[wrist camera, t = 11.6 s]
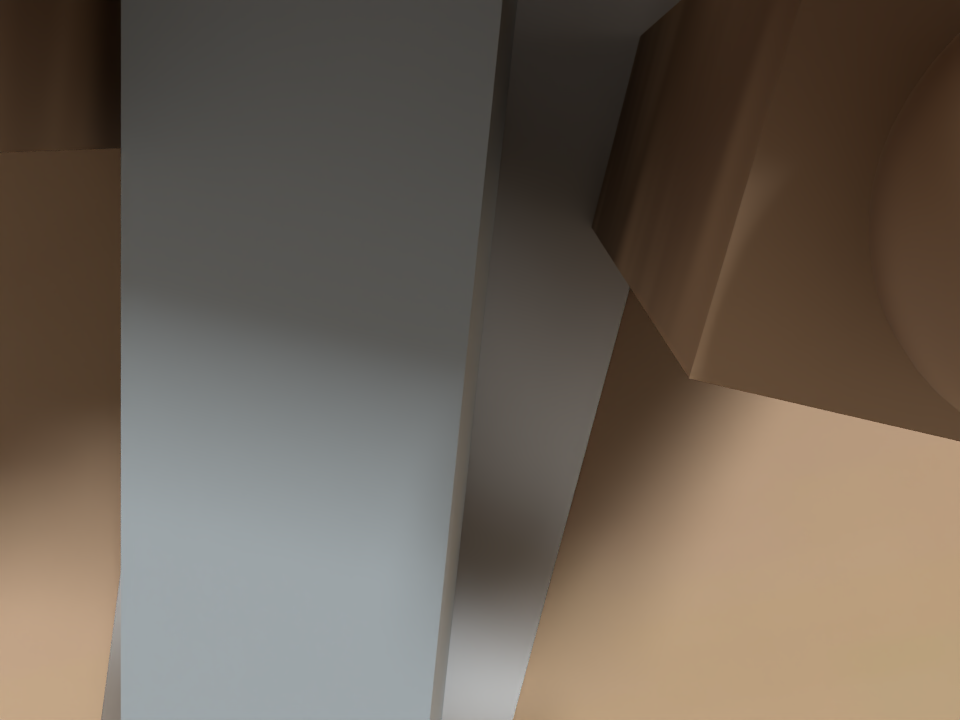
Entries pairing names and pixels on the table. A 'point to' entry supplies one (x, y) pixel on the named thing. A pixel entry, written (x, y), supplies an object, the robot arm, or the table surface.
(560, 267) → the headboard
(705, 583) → the table surface
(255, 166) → the rail
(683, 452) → the table surface
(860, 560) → the table surface
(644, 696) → the table surface
